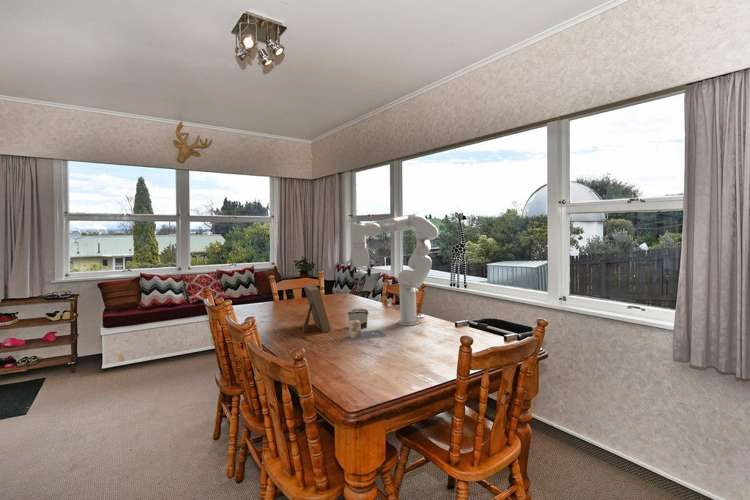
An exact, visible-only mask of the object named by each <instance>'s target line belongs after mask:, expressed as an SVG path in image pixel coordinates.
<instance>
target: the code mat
mask: <svg viewBox="0 0 750 500" xmlns="http://www.w3.org/2000/svg"><path fill="white" fill-rule="evenodd" d="M344 335H345V337H347V338H348V340H349V341H351V342H355V341H360V340H361V341H362V340H369V339H378V338H385V337H388V335H387V334H385V332H383V331H382V330H380V329H372V330H365V331H361V337H358V338H351V337H350V336H349V332H348V333H344Z"/></svg>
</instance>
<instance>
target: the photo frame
mask: <svg viewBox="0 0 750 500" xmlns="http://www.w3.org/2000/svg"><path fill="white" fill-rule="evenodd" d="M303 289H304V292H305V295H306V298H307V302H308V305H309V308H308V312H307V313H306V317H305V320H304V322H303V329H302V333H303V334H304V333H305V332H307V329H308V326H309V321H310V318H311V315H312V319H313V321H314V324H315V326H317V328H319V330H321V332H322V333H327V332H329V331H331V330H332V329H331V325H330V321H329V318H328V315H327V312H326V308H325V305H324V302H323V297H322V295H321V290H320V288H319V287H317V286H315V284H313V283H311V282H310V283H307V284H304V285H303Z"/></svg>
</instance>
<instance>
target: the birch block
mask: <svg viewBox="0 0 750 500" xmlns="http://www.w3.org/2000/svg"><path fill="white" fill-rule="evenodd" d="M361 332H362V328H361V322H360V321H359V320H353V321H349V320H348V333H349V336H350V337H351V338H358V337H361Z"/></svg>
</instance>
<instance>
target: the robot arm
mask: <svg viewBox="0 0 750 500" xmlns="http://www.w3.org/2000/svg"><path fill="white" fill-rule="evenodd" d="M408 230H414V235H415V238H416V246H415V248H414V250H413V251H412V254H411V256H410V257H409V259H408V262H407V265H408V267H409V269H402V270H401V271H400V272H398V274H397V283H398V288H399V313H400V314H399V316H400V317H399V320H397V324H398V325H401V326H416V325H419V323H420V320H423V319H425V315H423V314H422V315H418V314H417V292H416V289H417V288H420V287H422V286H423V283H425V281H426V279H427V277H428V275H429V273H430V271H431V270H432V266H433V261H432V259H431V257H430V256H429V254H430V252H431V241H432V240H435V239H437V237H438V235H439V230H438V228H437V226H436V225H434V223H432V222H430V221H429V220H428V219H427V218H425V217H424V216H423V215H421V214H418V213H416V214H414V213H413V214H406V215H401V216H395V217H389V218H384V219H381V220H375V221H370V222H365V223H353V224H351V235H352V236H351V238H352V241H351V242H352V244H351V245H352V248H351V249H350V258H349V260H346V261H345V262H344V266H345V267H346V269H348V270H349V277H350V278H351V279H354V275H355V274H354V269H355V268H358V267H359V268H362V267H366V268H367V269H366V276H367V277H368V278H369V277H371V275H372V269H373V267H374V265H375V264H376V260H374V259H371V258H370V255H369V250H368V247H369V245H370V244H369V243H367V237H377V236H378V235H379V234H394V233H399V232H403V231H408ZM370 263H371V264H370ZM349 264H350V265H349Z"/></svg>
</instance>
